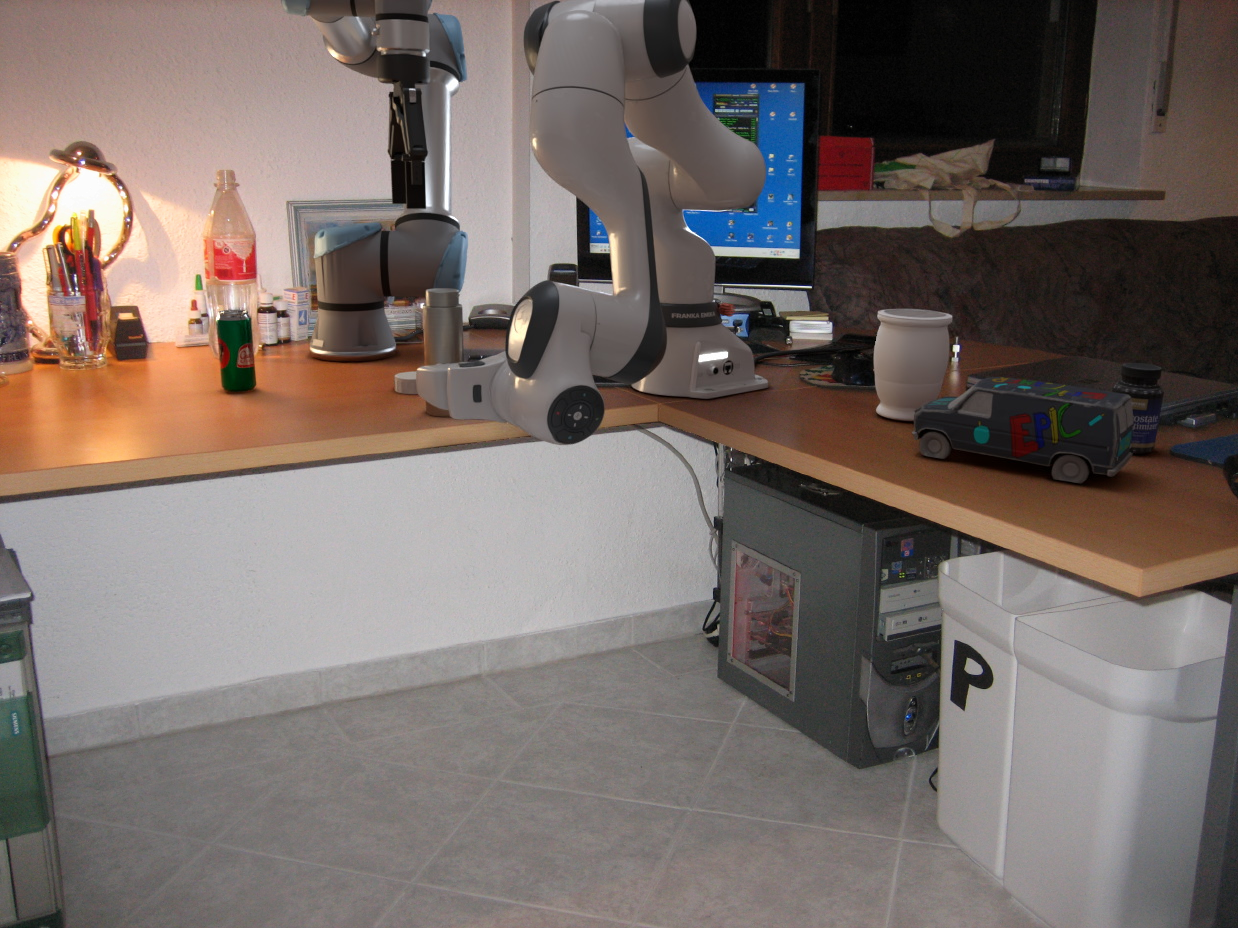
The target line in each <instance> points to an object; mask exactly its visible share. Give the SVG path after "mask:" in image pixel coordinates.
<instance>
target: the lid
mask: <svg viewBox="0 0 1238 928" xmlns="http://www.w3.org/2000/svg"><path fill="white" fill-rule="evenodd" d="M416 372H417V370H415V371H404V372H399V373H395V374H394V378H393V379H394V380H393V382H394V391H395V392H396V393H399V394H403V395H418V392H417V382H416Z"/></svg>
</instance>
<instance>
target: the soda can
mask: <svg viewBox="0 0 1238 928" xmlns="http://www.w3.org/2000/svg"><path fill="white" fill-rule="evenodd" d="M252 323H253V322H252V317H251V316H250V315H249V311H248V310H247V309H224V310H219V311H217V316H216V318H215V325H216V337H217V349H218V362H219V371H220V373H219V374H220V382H221V383H220V384H221V388H222V389H223V390H224V391H225V392H228V393H244V392H246V393H247V392H250V391H253V390H254V389H255V388H256V386H257V375H256V361H255V347H254V335H253V324H252Z"/></svg>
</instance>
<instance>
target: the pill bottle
mask: <svg viewBox="0 0 1238 928" xmlns="http://www.w3.org/2000/svg"><path fill="white" fill-rule="evenodd" d="M1162 371H1163V367H1161V366H1158V365H1155V364H1149V363H1142V362H1141V363H1140V362H1126V363H1122V365H1121V369H1120V375H1121V380H1119V381H1116V382H1115V383H1114V384H1113V385H1112V388H1111V392H1115V393H1121V394H1127V395H1129V396H1131V401H1132V410H1133V418H1134V426H1135V427H1134V430H1133V436H1132V441H1131V448H1130V451H1129V452H1131V453H1133V454H1140V455H1141V454H1148V453H1151V452H1153V451H1154V450H1155V448H1156V440H1157V435H1158V428H1159V424H1160V419H1161V418H1160V417H1161V412H1162V407H1163V399H1164V395H1165V391H1164V389H1163V387H1162V386H1161V385H1159V383H1158V381H1159V380H1160V379H1161V377H1162Z"/></svg>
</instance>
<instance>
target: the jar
mask: <svg viewBox="0 0 1238 928" xmlns="http://www.w3.org/2000/svg"><path fill="white" fill-rule="evenodd" d="M877 319H878V321H880V325H879V327H878V329H877V332H876V333H877V336H876V341H875V345H874V346H873V372H874V384H875V385H874V386H875V391H876V395H877V398H878V399H879V401H880V402H879V404H877V405H878V406H877V407H876V409H875V412H876V413H877V415H879V416H881V417H884V418H887V419H889V420H890V419H891V420H896V421H903V422H914V414H915V410H916V409H918V408H919V407H921V406H923V405H924V404H926V403H929V402H931V401H934V400H936V399H939V396H940V393H941V391H942V388H943V384H944V378H945V377H946V376H945V375H946V373H947V369H948V364H949V360H950V359H949V357H950V334H949V327H948V326H949V325H951V324H952V323H953V315H952V314H950V313H947V312H943V311H936V310H929V309H918V308H888V309H880V310H878V311H877Z"/></svg>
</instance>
